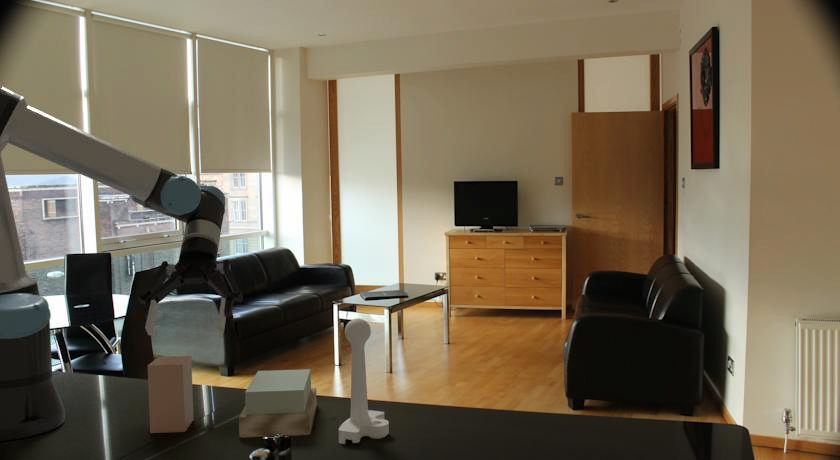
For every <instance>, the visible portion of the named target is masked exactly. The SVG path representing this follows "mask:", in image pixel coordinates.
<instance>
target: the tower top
mask: <svg viewBox="0 0 840 460" xmlns="http://www.w3.org/2000/svg"><path fill="white" fill-rule="evenodd" d="M311 372H312V371H311V369H310V368H308V369H306V368H305V369H304V368H303V369H280V370H279V369H277V370H257V372H256V373H255V375H254V377H253V378H252V380H251V382H250V384H249V385H248V386H247V388H246V390H245V391H244V395H245V402H244V403H245V405H246V415H257V414H283V413H304V412H305V409H306V405H307V402H308V398H309V395H310V391H311V388H312V382H311V381H312V375H311Z"/></svg>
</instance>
